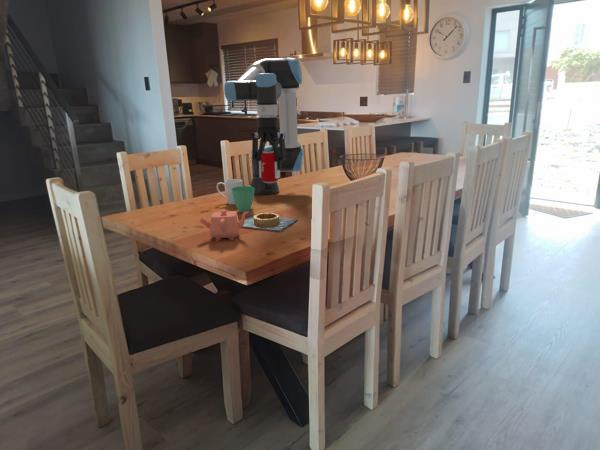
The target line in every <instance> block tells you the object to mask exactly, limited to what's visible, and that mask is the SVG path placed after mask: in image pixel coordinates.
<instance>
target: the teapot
mask: <svg viewBox="0 0 600 450" xmlns="http://www.w3.org/2000/svg"><path fill="white" fill-rule="evenodd" d="M250 211H251V210H250ZM250 211H248V212H242V214H241V218H240V219H239V215H238V212H237V211H233V210H232V211H229V210H227V209H221V210H220V211H214V212H213V213H212V215H211V216H210V222H209V220H207V219H205V218H204V217H201V218H200V219H199V222H200V223H201V224H203V225H204V226H205V227H206V228H208V229H209V234H210V237H211V238H215V239H214V240H215V241H217V242H218V241H222V239H223V238H227V239H228V240H229V241H235V239H236V238H235V237H238V236H239V233H240V229H241V228H242V226H243V225H244V221H245V219H246V216H247V214H249V213H250Z"/></svg>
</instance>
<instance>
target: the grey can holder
mask: <svg viewBox="0 0 600 450" xmlns="http://www.w3.org/2000/svg"><path fill="white" fill-rule="evenodd" d="M298 221H299V219H298V218H290V217H289V218H288V217H284V216H283V217H281V216H280V214H278V213H275V212H261V213H257V214H253V215H251V216H249V217H247V218H245V221H244V225H243V226H242V227H241V228H243V229H252V230H259V231H260V230H261V231H266V232H267V231H268V232H276V233H281V232H283V231H284V230H286V229H287V228H289V227H290V226H292V225H294V224H295V223H297V222H298Z"/></svg>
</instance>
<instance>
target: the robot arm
mask: <svg viewBox="0 0 600 450" xmlns="http://www.w3.org/2000/svg"><path fill="white" fill-rule="evenodd" d="M301 84H303V74H302V66H301V63H300V60H299V59H298V58H296V57H277V58H275V57H274V58H273V57H272V58H268V57H267V58H263V59H258V60H257V61H255V62H253V63H251V64H250V65H249V66H247V68H246V69H245V72H244V73H242V75H241V76H239V77H238V78H237V79H236V80H227V81H226V82H225V83H224V87H223V91H224V97H225V99H226V100H227V101H231V102H237V101H256V111H257V112H256V114H257V116H258V117H257V127H258V129H257V131H256V132H252V133H250V136H251V141H252V142H251V143H252V147H251V148H252V150H251V157H250V158H251V171H252V172H251V173H252V175H251V176H252V178H251V182H250V185H249V186H251V187H254V189H255V190H254V195H258V196H259V195H265V196H266V195H273V194H277V193H278V192H279V191H280V186H279V184H278V181H277V182H275V183H264V182H263V181H262V170H261V154H262V151H274V154H275V157H276V161H275V179H277V178H278V179H280V178H281V172H291V173H293V172H301V171H302V169H303V164H304V158H305V149H304V148H303V147H302V144H301V143H300V142H299V141H298V111H297V110H298V109H297V106H298V105H297V91H298V90H299V89H300V85H301ZM277 101H278V102H277ZM278 113H279V116H278ZM277 116H278V117H277ZM278 119H279V121H278ZM278 125H279V126H278ZM278 128H279V129H278ZM259 138H260V139H259ZM277 138H278V140H277ZM259 140H260V141H259ZM267 142H268V143H270V145H266V144H267Z"/></svg>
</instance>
